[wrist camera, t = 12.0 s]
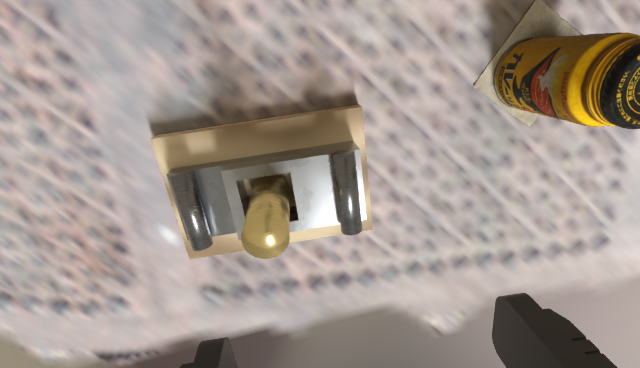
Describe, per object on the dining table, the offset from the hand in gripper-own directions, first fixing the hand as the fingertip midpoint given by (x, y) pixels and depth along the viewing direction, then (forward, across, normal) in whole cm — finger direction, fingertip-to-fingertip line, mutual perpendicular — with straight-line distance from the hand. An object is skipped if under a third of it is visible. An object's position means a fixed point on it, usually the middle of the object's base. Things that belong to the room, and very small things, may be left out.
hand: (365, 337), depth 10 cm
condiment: (+23, -20, -4) cm, 31 cm away
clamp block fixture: (+23, +4, +4) cm, 23 cm away
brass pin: (+21, +4, +4) cm, 22 cm away
